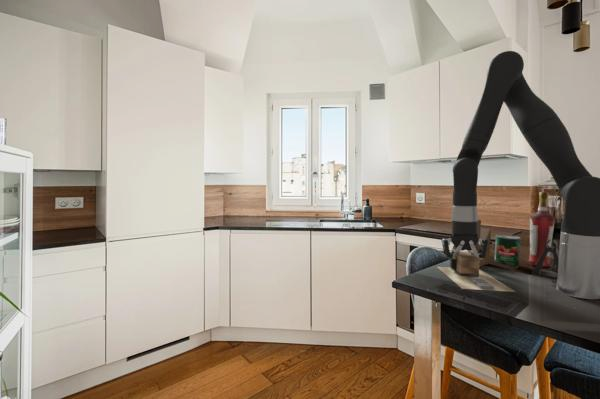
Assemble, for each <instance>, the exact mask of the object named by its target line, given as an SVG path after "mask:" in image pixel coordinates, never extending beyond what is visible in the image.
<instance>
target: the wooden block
mask: <svg viewBox="0 0 600 399" xmlns="http://www.w3.org/2000/svg"><path fill="white" fill-rule="evenodd" d="M491 234H492V228H487V227H486V228H485V227H482V219H479V218H478V233H477V236H478V238H479V239H486V240H488V245H487V250H486V255H485V257H484V258H480V263H479V268H480V267H483V266H486V265H489V264H490V252H491V251H490V248H491V239H492V237H491V236H492V235H491ZM479 246H480V245H479V242H478V243H477V244H476V245H475V248H476V250H477V253H478V251H479ZM467 252H469V253H470V251H469V250H467Z"/></svg>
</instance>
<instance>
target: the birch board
mask: <svg viewBox="0 0 600 399" xmlns="http://www.w3.org/2000/svg"><path fill="white" fill-rule="evenodd" d="M437 268H438V269H439V270H440V271H441V272H442V273H444V274H445V275H446V276H447V277H448V278H449V279H450V280H451V281H453V283H455V284H456V285H457V286H458V287H459V288H461V290H474V291H475V290H478V291H479V290H480V291H490V292H491V291H492V292H493V291H494V292H495V291H496V292H509V293H510V292H511V293H516V291H515V290H514V289H512V288H511V287H509V286H508V285H505V284H504V283H503V282H501V281H499V280H497V279H496V278H494V277H493V276H491V275H489V274H488V273H486V271H483V270H482V269H480V268H479V277H468V276H460V275H458V274H457V273H456V272H455V271H453V270H452V269H451V268H450V266H448V267H447V266H437ZM471 278H472V279H483V280H485V281H486V282H488V283H489V284H491V285H492V286H494V289H480V288H479V287H478V286H476V284H474V283H472V282H471Z"/></svg>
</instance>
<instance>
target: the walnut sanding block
mask: <svg viewBox="0 0 600 399" xmlns="http://www.w3.org/2000/svg"><path fill="white" fill-rule="evenodd" d="M451 252H452V250H451V251H450V253H451ZM456 260H457V269H456V270H453V269H452V268H451V267H450V266H449V267H450V268H451V269H452V270H453V271H455V272H456V273H457V274H458V275H460V276H468V277H479V269H480V267H479V263H480V258H478V257H476V256H474V255H473V254H471V253H469V252H468V251H463V250H460V253H459V254H458V255H457V257H456Z"/></svg>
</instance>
